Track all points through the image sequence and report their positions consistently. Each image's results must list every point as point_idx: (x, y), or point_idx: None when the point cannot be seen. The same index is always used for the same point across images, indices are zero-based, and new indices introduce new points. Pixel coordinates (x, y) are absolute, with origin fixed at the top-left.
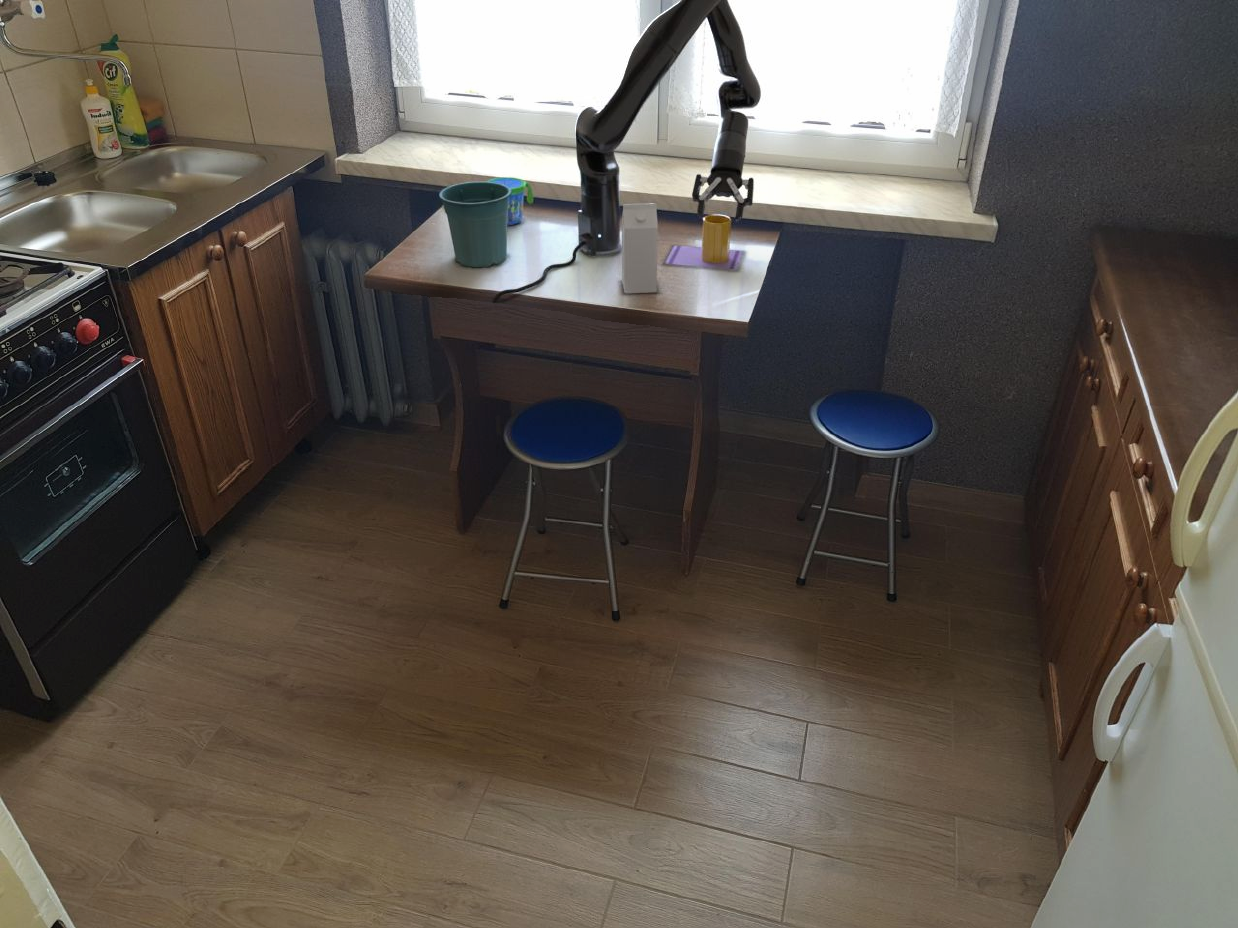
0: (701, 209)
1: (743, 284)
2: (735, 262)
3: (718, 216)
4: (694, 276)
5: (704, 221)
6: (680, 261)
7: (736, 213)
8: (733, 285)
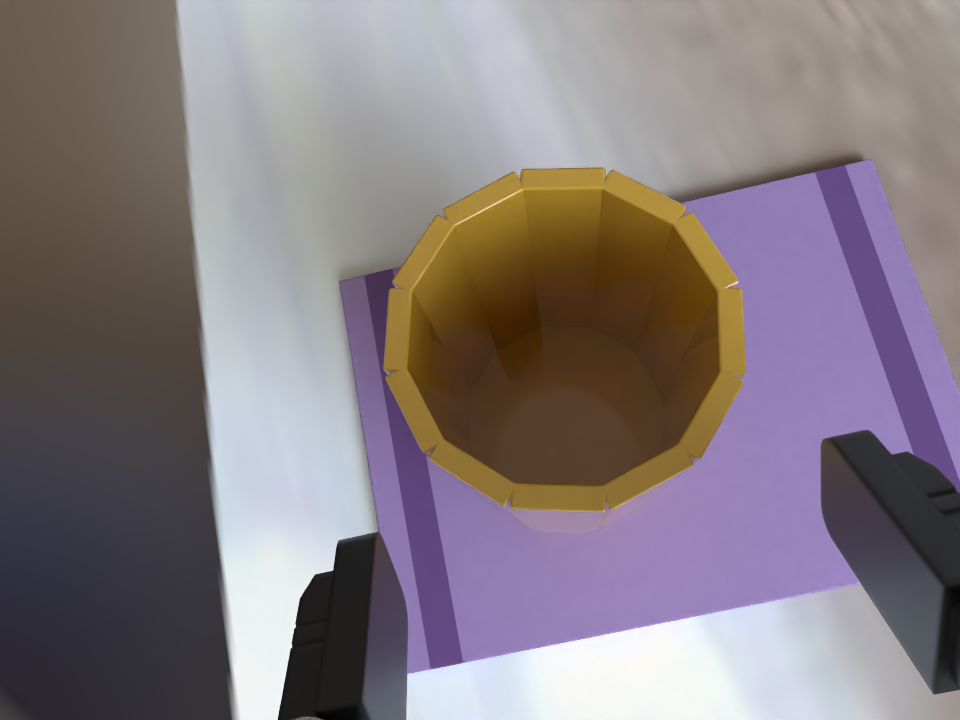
0: (888, 474)
1: (242, 112)
2: (387, 405)
3: (602, 485)
4: (578, 83)
5: (679, 204)
6: (781, 241)
7: (366, 568)
8: (296, 72)
